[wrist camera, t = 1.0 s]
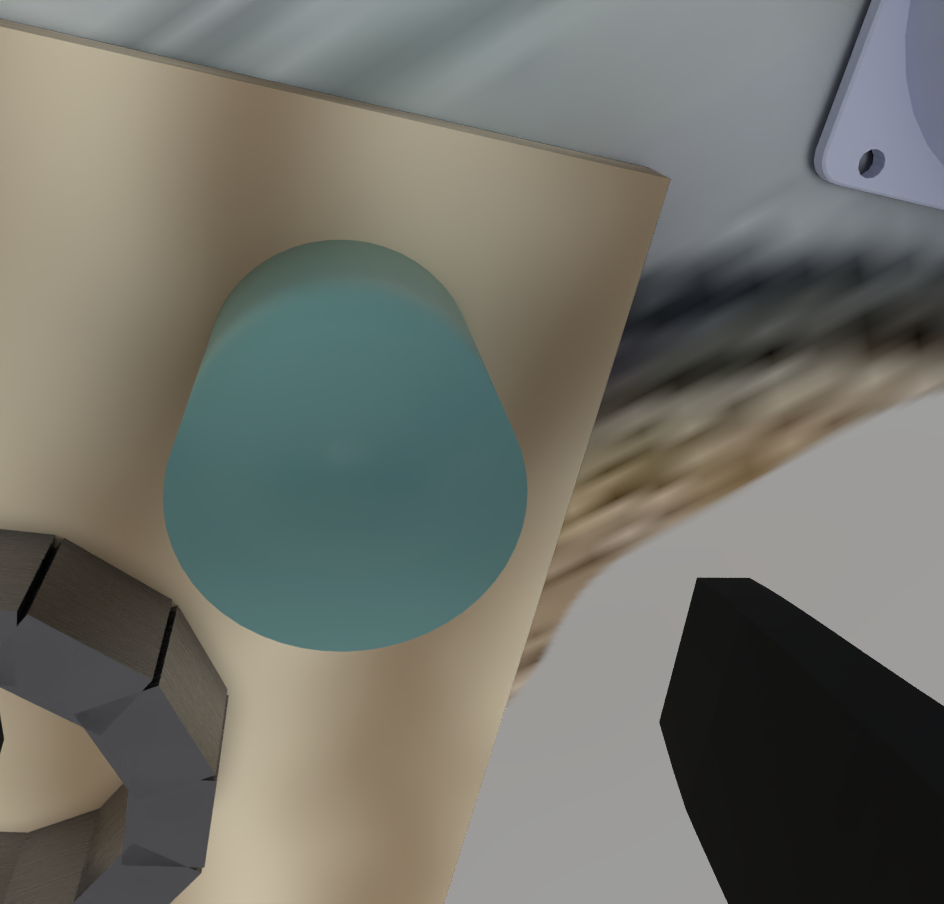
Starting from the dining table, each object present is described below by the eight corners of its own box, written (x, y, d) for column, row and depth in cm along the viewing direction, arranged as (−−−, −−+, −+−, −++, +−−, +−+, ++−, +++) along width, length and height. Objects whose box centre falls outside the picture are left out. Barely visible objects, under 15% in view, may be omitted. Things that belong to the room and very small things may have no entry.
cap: (500, 267, 16) (568, 371, 11) (443, 500, 18) (482, 664, 13) (223, 214, 15) (180, 305, 10) (195, 468, 17) (149, 636, 12)
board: (648, 167, 17) (670, 179, 16) (429, 894, 25) (434, 934, 24) (-362, -64, 13) (-423, -71, 12) (-226, 880, 21) (-255, 926, 20)
